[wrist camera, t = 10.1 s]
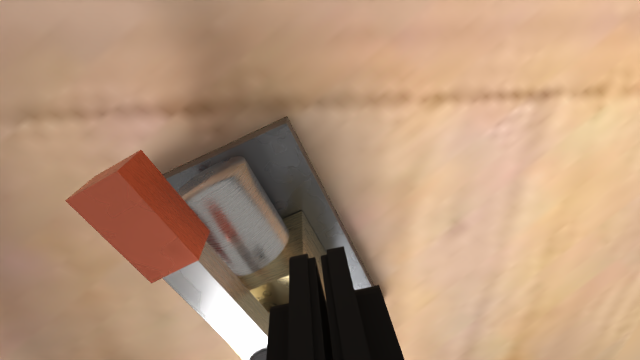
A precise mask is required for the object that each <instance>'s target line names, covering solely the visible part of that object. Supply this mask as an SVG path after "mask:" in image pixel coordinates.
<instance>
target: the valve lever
mask: <svg viewBox="0 0 640 360" xmlns="http://www.w3.org/2000/svg"><path fill="white" fill-rule="evenodd" d="M65 201H66V202H67V203H68V204H69V205H70V206H71V207H72V208H74V209H75V210H76V211H77V212H78V213H79V214H80V215H81V216H82V217H83V218H84V219H85V220H86V221H87V222H88V223H89V224H90V225H91V226H92V227H93V228H94V229H95V230H96V231H98V232H99V233H100V234H101V235H102V236H103V237H104V238H105V239H106V240H107V241H108V242H109V243H110V244H111V245H112V246H113V247H114V248H115V249H116V250H117V251H118V252H119V253H120V254H122V255H123V256H124V257H125V258H126V259H127V260H128V261H129V262H130V263H131V264H132V265H133V266H134V267H135V268H136V269H137V270H138V271H139V272H140V273H141V274H142V275H143V276H145V277H146V278H147V279H148V280H149V281H150V282H151V283H153V282H155V281H157V280H159V279H161V278H163V279H164V280H165V281H166V282H167V283H168V284H169V285H170V286H171V287H172V288H173V289H174V290H175V291H176V292H177V293H178V294H179V295H180V296H181V297H182V298H183V299H184V300H185V301H186V302H187V303H188V304H189V305H190V306H191V307H192V308H193V309H194V310H195V311H196V312H197V313H198V314H199V315H200V316H201V317H202V318H203V319H204V320H205V321H206V322H207V323H209V324H210V325H211V326H212V327H213V328H214V329H215V330H216V331H217V332H218V333H219V334H220V335H221V336H222V337H223V338H224V339H225V340H226V341H227V342H228V343H229V344H230V345H231V346H232V347H233V348H234V349H235V350H236V351H237V352H238V353H239V354H240V355H241V356H242V357H243V358H244V359H245V360H266V355H267V342H268V329H269V316H270V314H269V313H268V312H267V310H266V309H265V308H264V307H263V306H262V305H261V304H260V302H259V301H258V300H257V299H256V298H255V297H254V295H253V294H252V293H251V292H250V291H249V290H248V289H247V287H246V286H245V285H244V284H243V283H242V282H241V281H240V279H239V278H238V277H237V276H236V275H235V274H234V272H233V271H232V270H231V269H230V268H229V267H228V266H227V264H226V263H225V262H224V261H223V260H222V259H221V258H220V256H219V255H218V254H217V253H216V252H215V251H214V249H213V248H212V247H211V246H210V245H209V244H208V243H207V241H206V240H207V238H208V235H209V233H210V230H209V229H208V228H207V227H206V226H205V225H204V223H203V222H202V221H201V220H200V219H199V217H198V216H197V215H196V214H195V213H194V212H193V210H192V209H191V208H190V207H189V206H188V205H187V203H186V202H185V201H184V200H183V199H182V197H181V196H180V195H179V194H178V193H177V192H176V190H175V189H174V188H173V187H172V186H171V184H170V183H169V182H168V181H167V180H166V179H165V177H164V176H163V175H162V174H161V173H160V171H159V170H158V169H157V168H156V167H155V166H154V164H153V163H152V162H151V161H150V160H149V159H148V157H147V156H146V155H145V154H144V153H143V151H142V150H140V151H138V152H136V153H135V154H133V155H131V156H129V157H128V158H126V159H124V160H122V161H121V162H119V163H117V164H115V165H114V166H112V167H110V168H109V169H107V170H105V171H103V172H102V173H100V174H98V175H96V176H95V177H94V178H92V179H91V180H90V181H89V182H87V183H86V184H85V185H84V186H83V187H81V188H80V189H79V190H78V191H76V192H75V193H74V194H73V195H72V196H70V197H69V198H68V199H67V200H65Z"/></svg>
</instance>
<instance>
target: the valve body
mask: <svg viewBox="0 0 640 360" xmlns="http://www.w3.org/2000/svg"><path fill="white" fill-rule="evenodd" d="M163 176H164V177H165V179H166V180H167V181H168V182H169V183H170V184H171V186H172V187H173V188H174V189H175V190H176V192H177V193H178V194H179V195H180V196H181V197H182V199H183V200H184V201H185V202H186V203H187V205H188V206H189V207H190V208H191V209H192V210H193V212H194V213H195V214H196V215H197V216H198V217H199V219H200V220H201V221H202V222H203V223H204V225H205V226H206V227H207V228H208V229H209V230H210V233H209V235H208V238H207V240H206V241H207V243H208V244H209V245H210V246H211V247H212V248H213V249H214V251H215V252H216V253H217V254H218V255H219V256H220V258H221V259H222V260H223V261H224V262H225V263H226V264H227V266H228V267H229V268H230V269H231V270H232V271H233V272H234V274H235V275H236V276H237V277H238V278H239V279H240V281H241V282H242V283H243V284H244V285H245V286H246V287H247V289H248V290H249V291H250V292H251V293H252V294H253V295H254V297H255V298H256V299H257V300H258V301H259V302H260V304H261V305H262V306H263V307H264V308H265V309H266V310H267V312H268V313H269V314H270V309H271V307H273V306H278V305H283V304H288V303H289V258H290V257H293V256H298V255H303V254H308V257H309V258H312V257H315V258H316V262H317V266H318V270H319V274H320V279H321V283H322V287H323V291H324V295H325V288H324V281H323V273H322V265H321V256H322V255H327V249H332V248H337V247H342V246H344V249H345V253H346V257H347V261H348V266H349V270H350V274H351V278H352V282H353V287H354V290H357V289H362V288H367V287H372V286H374V284H373V282H372V281H371V279H370V277H369V275H368V273H367V271H366V269H365V267H364V265H363V263H362V261H361V259H360V257H359V255H358V253H357V251H356V249H355V247H354V246H353V244H352V242H351V240H350V238H349V236H348V234H347V232H346V230H345V228H344V226H343V224H342V222H341V220H340V218H339V216H338V214H337V213H336V211H335V209H334V207H333V205H332V203H331V201H330V199H329V197H328V195H327V193H326V191H325V189H324V187H323V185H322V183H321V181H320V180H319V178H318V176H317V174H316V172H315V170H314V168H313V166H312V164H311V162H310V160H309V158H308V156H307V154H306V152H305V150H304V148H303V147H302V145H301V143H300V141H299V139H298V137H297V135H296V133H295V131H294V129H293V127H292V125H291V123H290V121H289V119H288V117H285V118H283V119H281V120H278V121H276V122H274V123H272V124H270V125H268V126H266V127H263V128H261V129H259V130H257V131H255V132H253V133H251V134H249V135H246V136H244V137H242V138H240V139H238V140H236V141H234V142H231V143H229V144H227V145H225V146H223V147H221V148H219V149H217V150H214V151H212V152H210V153H208V154H206V155H204V156H202V157H199V158H197V159H195V160H193V161H191V162H189V163H187V164H185V165H182V166H180V167H178V168H176V169H174V170H172V171H170V172H167V173H165V174H163ZM325 299H326V296H325ZM225 341H226V340H225ZM226 342H227V341H226ZM227 343H228V342H227ZM228 344H229V343H228ZM229 345H230V344H229ZM230 346H231V345H230ZM231 347H232V346H231ZM232 348H233V347H232ZM233 350H234V351H235V352H236V353H237V354H238V355H239V356H240V357H241V359H242V360H245V359H244V358H243V357H242V356H241V355H240V354H239V353H238V352H237V351H236V350H235V349H234V348H233Z"/></svg>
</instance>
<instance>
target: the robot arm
mask: <svg viewBox="0 0 640 360" xmlns="http://www.w3.org/2000/svg"><path fill="white" fill-rule="evenodd" d="M321 265H322V273H323V281H324V288H325V295H324V291H323V287H322V283H321V279H320V274H319V270H318V266H317V262H316V258H315V257H312V258H309V257H308V254H303V255H298V256H293V257H290V258H289V303H288V304H283V305H278V306H273V307H271V309H270V316H269V329H268V342H267V355H266V360H404V357H403V354H402V351H401V348H400V346H399V343H398V340H397V337H396V334H395V331H394V328H393V325H392V322H391V319H390V316H389V313H388V310H387V307H386V304H385V301H384V298H383V295H382V292H381V290H380V287H379V285H377V286H372V287H367V288H362V289H357V290H354V287H353V282H352V278H351V274H350V270H349V266H348V261H347V257H346V253H345V249H344V246H342V247H337V248H332V249H327V255H322V256H321ZM325 296H326V299H325Z"/></svg>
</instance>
